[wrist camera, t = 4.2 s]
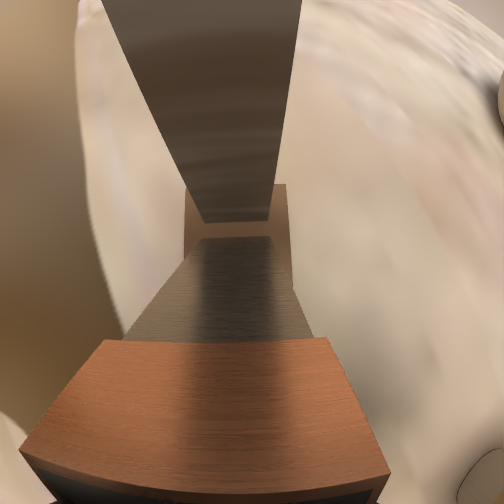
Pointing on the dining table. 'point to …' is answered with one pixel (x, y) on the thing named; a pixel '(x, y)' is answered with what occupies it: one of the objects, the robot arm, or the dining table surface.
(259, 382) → the block
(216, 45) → the stand
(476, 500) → the coffee cup
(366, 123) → the dining table surface
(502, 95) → the decorative egg
